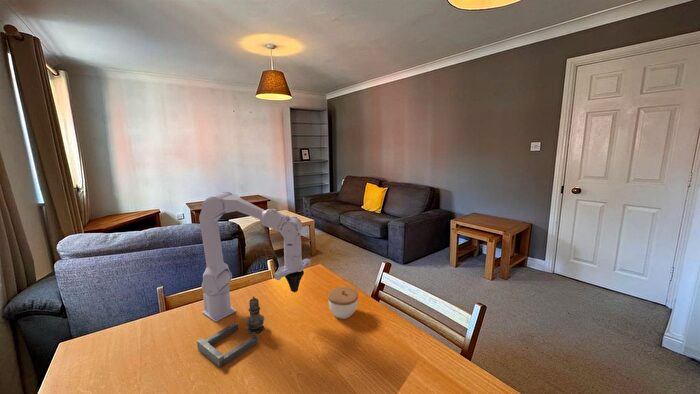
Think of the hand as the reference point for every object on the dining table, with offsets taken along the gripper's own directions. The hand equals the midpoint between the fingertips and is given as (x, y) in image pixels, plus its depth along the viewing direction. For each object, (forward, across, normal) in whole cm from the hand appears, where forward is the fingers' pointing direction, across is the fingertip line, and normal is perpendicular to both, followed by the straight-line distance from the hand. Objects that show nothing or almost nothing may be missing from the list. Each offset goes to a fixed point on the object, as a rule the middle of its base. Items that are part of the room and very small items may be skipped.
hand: (294, 290), depth 98 cm
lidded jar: (+11, +12, -12) cm, 20 cm away
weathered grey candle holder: (+11, -12, +6) cm, 17 cm away
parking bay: (+10, -22, +6) cm, 25 cm away
